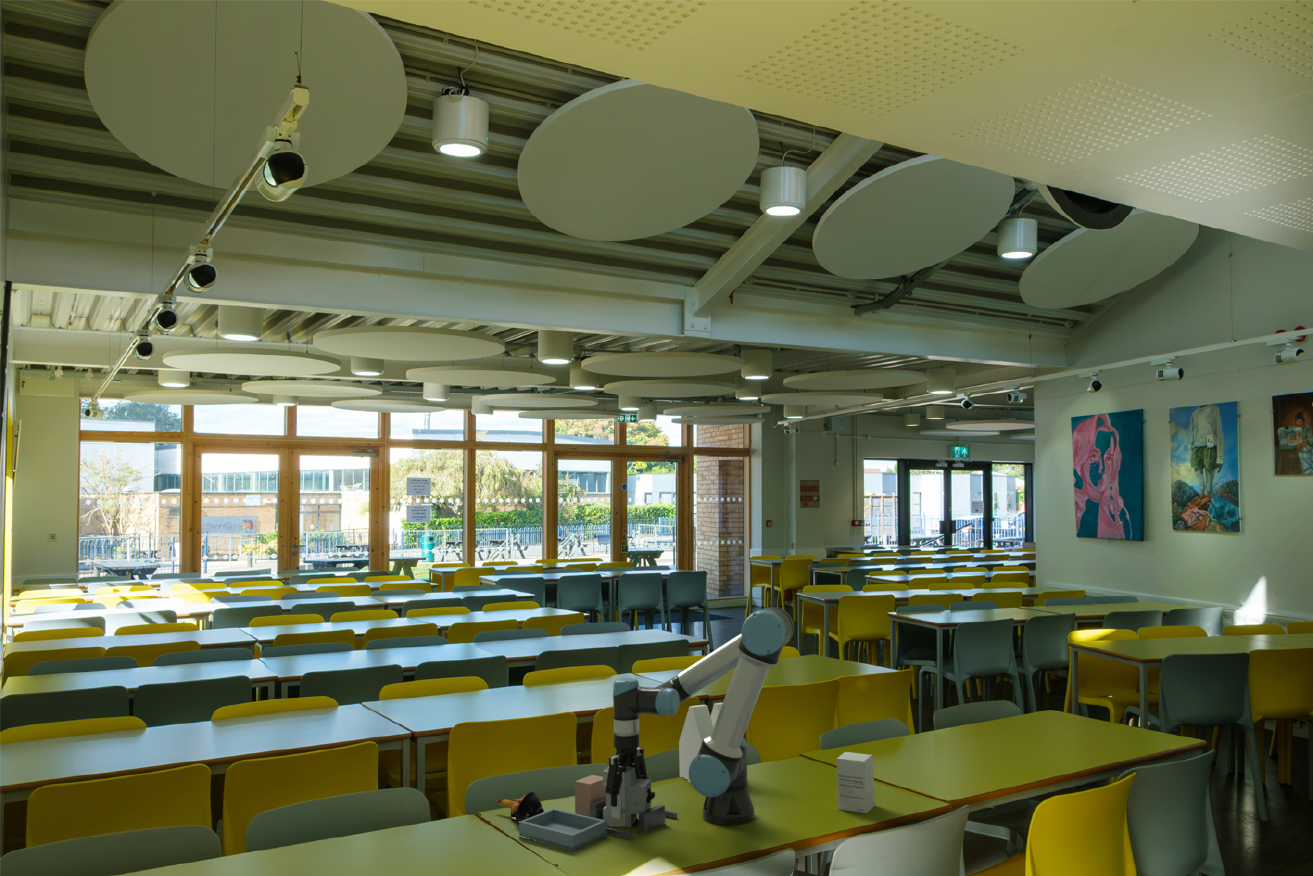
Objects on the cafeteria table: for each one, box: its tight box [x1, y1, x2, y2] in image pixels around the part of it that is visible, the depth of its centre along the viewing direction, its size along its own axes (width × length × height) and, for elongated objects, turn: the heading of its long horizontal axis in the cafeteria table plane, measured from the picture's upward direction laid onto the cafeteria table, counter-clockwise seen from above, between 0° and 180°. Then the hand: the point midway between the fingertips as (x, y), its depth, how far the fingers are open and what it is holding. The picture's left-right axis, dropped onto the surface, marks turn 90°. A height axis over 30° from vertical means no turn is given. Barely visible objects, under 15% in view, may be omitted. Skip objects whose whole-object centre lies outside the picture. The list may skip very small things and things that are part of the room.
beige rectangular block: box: [574, 774, 606, 817], centre depth 254 cm, size 6×8×10 cm
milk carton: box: [678, 702, 723, 783], centre depth 287 cm, size 19×15×25 cm
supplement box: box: [836, 751, 876, 814], centre depth 256 cm, size 9×9×15 cm
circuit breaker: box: [602, 765, 656, 828], centre depth 246 cm, size 8×14×15 cm, turn 78°
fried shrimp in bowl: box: [495, 791, 545, 823], centre depth 250 cm, size 9×11×18 cm
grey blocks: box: [591, 797, 678, 841], centre depth 246 cm, size 20×22×5 cm
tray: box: [518, 808, 608, 852], centre depth 235 cm, size 20×14×4 cm
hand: (627, 812), depth 246 cm, fingers closed on circuit breaker, 10 cm apart
